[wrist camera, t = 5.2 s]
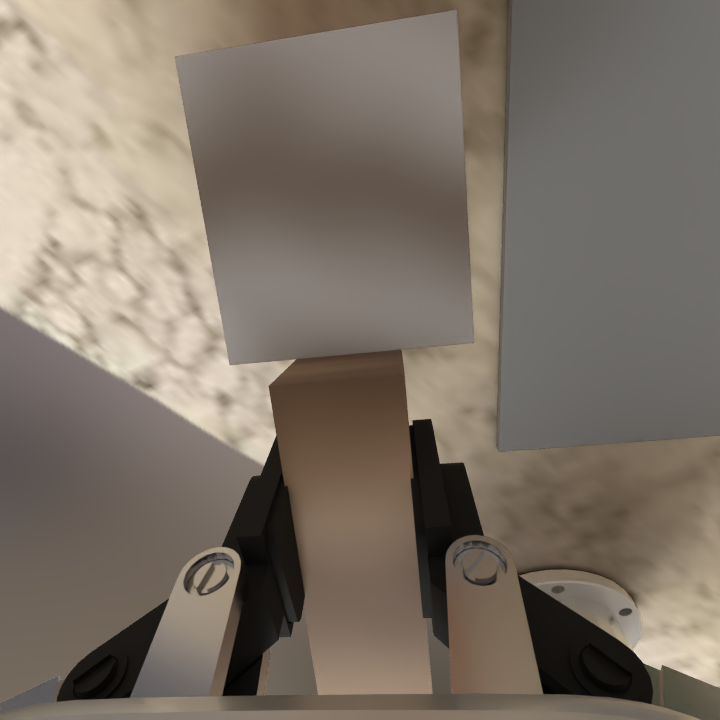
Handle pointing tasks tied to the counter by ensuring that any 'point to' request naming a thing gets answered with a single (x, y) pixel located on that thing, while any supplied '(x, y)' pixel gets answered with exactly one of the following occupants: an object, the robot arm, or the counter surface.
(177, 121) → the counter surface
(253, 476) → the robot arm
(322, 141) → the turner
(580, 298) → the mat
